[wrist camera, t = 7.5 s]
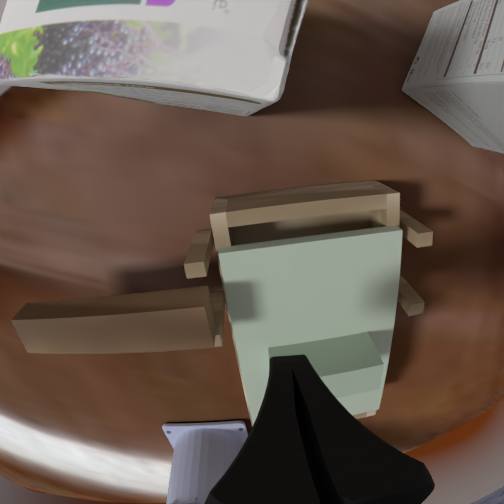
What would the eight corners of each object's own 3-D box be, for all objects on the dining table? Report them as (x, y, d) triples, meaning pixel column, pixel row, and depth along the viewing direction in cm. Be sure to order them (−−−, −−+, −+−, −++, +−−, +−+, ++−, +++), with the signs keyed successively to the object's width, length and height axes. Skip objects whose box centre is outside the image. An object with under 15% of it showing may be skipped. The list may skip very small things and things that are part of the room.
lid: (375, 401, 22) (390, 438, 19) (253, 422, 22) (255, 462, 19) (396, 225, 16) (430, 252, 13) (219, 247, 17) (213, 282, 13)
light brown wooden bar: (216, 323, 17) (214, 347, 15) (41, 334, 17) (27, 352, 16) (208, 285, 16) (204, 306, 14) (26, 303, 16) (11, 320, 15)
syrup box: (174, 15, 15) (60, -133, 1) (274, 30, 15) (346, -136, 2) (153, 103, 17) (-34, 89, 3) (253, 119, 17) (291, 111, 4)
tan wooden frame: (379, 382, 26) (396, 421, 22) (235, 405, 26) (235, 449, 22) (396, 178, 19) (434, 197, 15) (190, 201, 19) (175, 227, 15)
